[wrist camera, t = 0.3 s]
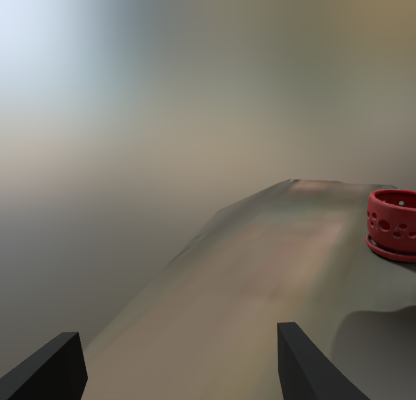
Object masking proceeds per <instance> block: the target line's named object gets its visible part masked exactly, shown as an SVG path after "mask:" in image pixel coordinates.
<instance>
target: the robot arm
mask: <svg viewBox="0 0 416 400" xmlns="http://www.w3.org/2000/svg"><path fill="white" fill-rule="evenodd" d="M277 332H278V373H279V378H280V383H281V388H282V393H283V398H284V400H370V399H369V398H368V397H366V396H365V395H364V394H363V393H362V392H361V391H360V390H359V389H358V388H357V387H356V386H355V385H353V384H352V383H351V382H350V381H349V380H348V379H347V378H346V377H345V376H344V375H343V374H342V373H341V372H340V371H339V370H338V369H337V368H336V367H335V366H334V365H333V364H332V363H331V362H330V361H329V360H328V359H327V358H326V357H325V355H324V354H323V353H322V352H321V351H320V350H319V349H318V348H317V347H316V346H315V344H314V343H313V342H312V341H311V340H310V339H309V338H308V336H307V335H306V334H305V333H304V332H303V331H302V329H301V328H300V327H299V326H298V325H297V324H296V323H295V322H286V323H277ZM87 380H88V376H87V371H86V366H85V361H84V356H83V351H82V347H81V342H80V337H79V333H78V332H65V333H61V334H59V335H58V336H57V337H55V338H54V339H52V340H51V341H50V342H48V343H47V344H46V345H44V346H43V347H42V348H40V349H39V350H38V351H36V352H35V353H34V354H32V355H31V356H30V357H28V358H27V359H26V360H24V361H23V362H22V363H20V364H19V365H18V366H17V367H15V368H14V369H12V370H11V371H10V372H8V373H7V374H6V375H4V376H3V377H2V378H1V379H0V400H81V397H82V395H83V392H84V389H85V386H86V383H87Z"/></svg>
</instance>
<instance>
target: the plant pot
mask: <svg viewBox="0 0 416 400" xmlns="http://www.w3.org/2000/svg"><path fill="white" fill-rule="evenodd" d="M383 201H385V202H383ZM400 201H403V202H404V204H403V205H399V202H400ZM392 204H394V205H392ZM367 227H368V230H369V233H370V234H368V235H367V236H366V243H367V245H368V247H369V248H370V249H371V250H373V251H374V252H375V253H377V254H379V255H381V256H383V257H386V258H389V259H392V260H396V261H402V262H416V191H412V190H403V189H381V190H376V191H373V192H371V193H370V195H369V200H368V206H367Z"/></svg>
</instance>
